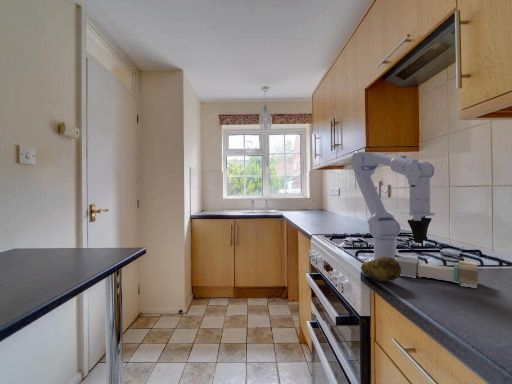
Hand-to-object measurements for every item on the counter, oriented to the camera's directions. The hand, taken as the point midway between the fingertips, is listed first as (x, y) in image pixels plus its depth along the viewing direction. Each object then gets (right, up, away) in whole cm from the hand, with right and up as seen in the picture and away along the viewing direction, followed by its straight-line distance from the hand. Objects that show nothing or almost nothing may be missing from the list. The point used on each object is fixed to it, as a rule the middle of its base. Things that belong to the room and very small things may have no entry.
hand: (420, 241), depth 88 cm
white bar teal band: (+2, -11, -6) cm, 13 cm away
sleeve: (-5, -11, -1) cm, 11 cm away
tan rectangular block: (+7, -11, -10) cm, 16 cm away
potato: (-16, -11, -7) cm, 21 cm away
